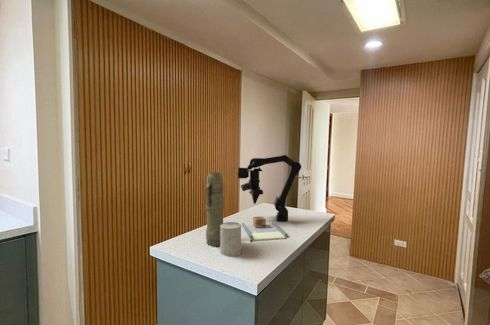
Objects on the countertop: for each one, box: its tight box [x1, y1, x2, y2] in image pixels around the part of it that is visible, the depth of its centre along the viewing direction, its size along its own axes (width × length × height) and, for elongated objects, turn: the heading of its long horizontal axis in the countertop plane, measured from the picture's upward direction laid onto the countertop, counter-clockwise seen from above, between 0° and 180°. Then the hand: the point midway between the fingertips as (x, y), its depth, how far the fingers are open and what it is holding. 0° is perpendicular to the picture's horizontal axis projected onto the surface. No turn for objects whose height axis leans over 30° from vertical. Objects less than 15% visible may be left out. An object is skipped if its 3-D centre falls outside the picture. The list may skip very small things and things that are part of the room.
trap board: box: [241, 220, 288, 243], centre depth 146 cm, size 22×19×3 cm
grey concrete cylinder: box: [219, 221, 242, 257], centre depth 121 cm, size 10×10×12 cm
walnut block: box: [252, 215, 267, 228], centre depth 154 cm, size 6×6×5 cm
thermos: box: [205, 171, 225, 247], centre depth 131 cm, size 9×12×35 cm
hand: (254, 203), depth 165 cm, fingers closed
